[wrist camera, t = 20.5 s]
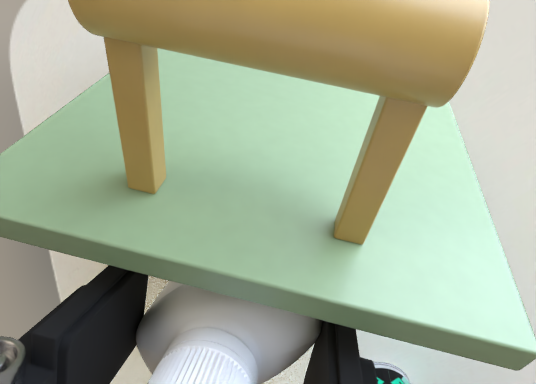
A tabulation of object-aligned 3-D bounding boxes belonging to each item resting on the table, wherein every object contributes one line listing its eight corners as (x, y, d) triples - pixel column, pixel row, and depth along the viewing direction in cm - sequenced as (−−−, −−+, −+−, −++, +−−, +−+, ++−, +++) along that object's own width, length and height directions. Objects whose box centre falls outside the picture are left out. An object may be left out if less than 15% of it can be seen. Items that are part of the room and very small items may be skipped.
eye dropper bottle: (206, 183, 17) (-13, 378, 6) (326, 198, 17) (342, 446, 5) (203, 267, 19) (18, 560, 7) (314, 283, 18) (306, 630, 7)
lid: (519, 372, 7) (898, 101, 3) (-48, 226, 8) (-278, -130, 4) (429, 82, 18) (496, -67, 14) (186, 30, 19) (184, -123, 15)
